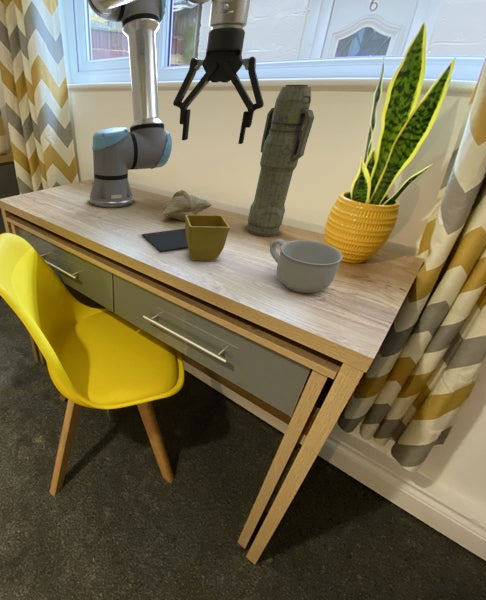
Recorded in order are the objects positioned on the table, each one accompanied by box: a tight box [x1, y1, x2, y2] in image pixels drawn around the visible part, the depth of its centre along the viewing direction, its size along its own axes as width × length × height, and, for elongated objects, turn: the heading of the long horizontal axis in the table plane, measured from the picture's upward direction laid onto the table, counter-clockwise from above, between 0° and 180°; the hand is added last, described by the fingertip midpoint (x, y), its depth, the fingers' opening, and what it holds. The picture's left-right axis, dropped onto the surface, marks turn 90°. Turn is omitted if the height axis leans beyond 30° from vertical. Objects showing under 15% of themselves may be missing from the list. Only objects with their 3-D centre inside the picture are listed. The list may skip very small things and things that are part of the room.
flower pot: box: [184, 214, 231, 262], centre depth 77 cm, size 9×9×9 cm
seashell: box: [162, 189, 213, 222], centre depth 101 cm, size 14×9×10 cm
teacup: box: [269, 238, 344, 294], centre depth 66 cm, size 14×11×8 cm
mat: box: [141, 228, 189, 253], centre depth 88 cm, size 12×16×1 cm
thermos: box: [246, 84, 315, 237], centre depth 85 cm, size 9×12×35 cm
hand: (211, 141), depth 80 cm, fingers open, 13 cm apart
